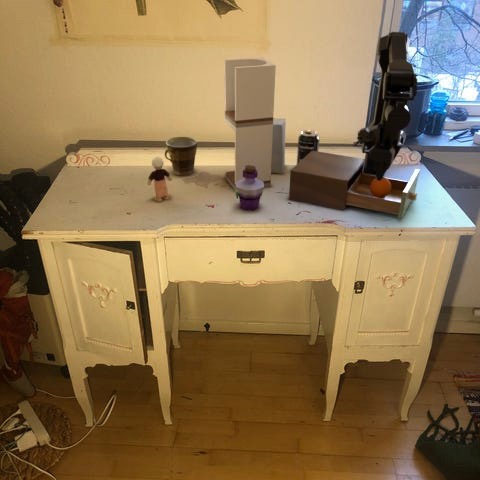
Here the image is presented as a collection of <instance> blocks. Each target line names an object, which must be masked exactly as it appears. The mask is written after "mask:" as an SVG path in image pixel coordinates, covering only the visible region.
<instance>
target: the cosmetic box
mask: <svg viewBox="0 0 480 480" xmlns="http://www.w3.org/2000/svg"><path fill="white" fill-rule="evenodd" d="M286 120H287V118H282V117H281V118H274V117H273V136H272V159H271V174H280V175H281V174H283V172H284V169H285V166H286Z"/></svg>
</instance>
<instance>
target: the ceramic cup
mask: <svg viewBox="0 0 480 480" xmlns="http://www.w3.org/2000/svg"><path fill="white" fill-rule="evenodd" d="M165 145H166V150H165V151H164V157H165V159H167V160H168V161H170V163H171V167H172V171H173V174H174V175H177V176H189V175H191V174H193V173H194V169H195V162H196V154H197V148H198V140H197V139H196V138H194V137H192V136H191V137H190V136H176V137H170V138H169V139H167V140H166V141H165ZM167 154H168V155H169V157H168V156H167Z"/></svg>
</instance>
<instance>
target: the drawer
mask: <svg viewBox="0 0 480 480" xmlns="http://www.w3.org/2000/svg"><path fill="white" fill-rule="evenodd" d="M420 171H421V169H419V168H415V169H414V171H413V173H412V175H411V177H410V178H409V180H408V181H407V180H401V179H396V178H390V177H386V178H387V179H388V180H389V181H390V183H391V191H390V193H389V194H388V195H387V196H386V197H385V198H384V199H382V198H377V197H373V195H372V193H371V191H370V185H371V183H372V181H373V180H374V179H376V178H377V177H376V175H375V174H367V173H363V174H362V173H360V175H359V176H358V177H357V179H356V180H355V181H354V182H353V184H352V185H351V186H350V188H349V189H348V190H347V195H346V202H345V204H346V205H347V206H352V207H357V208H362V209H366V210H373V211H377V212H383V213H386V214H392V215H396V216H397V218H398V219H403V217H404V215H405V214H406V211H407V209H409V205H410V203H411V202H412V201H416V200H417V197H418V193H416V189H417V185H418V181H419V176H420Z"/></svg>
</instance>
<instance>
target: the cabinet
mask: <svg viewBox="0 0 480 480" xmlns="http://www.w3.org/2000/svg"><path fill="white" fill-rule="evenodd" d="M364 162H365V158H360V157H354V156H348V155H344V154H343V155H342V154H335V153H330V152H323V151H319V150H318V151H311V152H310V153H309V154H308V155H307V156H306V157H305V158H304V159H302V160H301V161H300V162H299V163H298V164H297V163H296V165H295V166H294V167H293V168H292V169H290V174H289V177H290V178H289V187H288V188H289V191H288V200H289V201H295V202H300V203H304V204H310V205H315V206H321V207H325V208H329V209H334V210H340V211H345V209H346V208H347V207H348V205H346V204H345V202H346V195H347V190H348V189H349V188H350V186H351V185H352V184H353V182H354V181H355V180H356V179H357V177H358V176H359V175H360V173H362V174H364V172H363V169H364Z"/></svg>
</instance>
